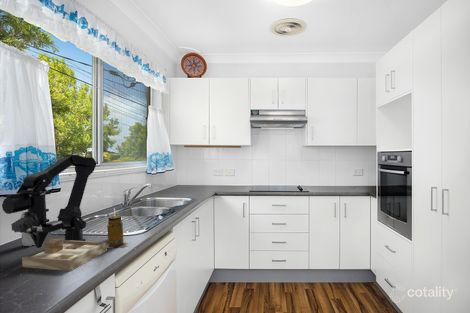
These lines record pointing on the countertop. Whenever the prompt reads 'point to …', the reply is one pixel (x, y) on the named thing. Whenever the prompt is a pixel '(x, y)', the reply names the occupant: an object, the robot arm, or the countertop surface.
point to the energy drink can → (26, 236)
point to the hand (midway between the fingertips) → (39, 247)
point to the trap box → (66, 256)
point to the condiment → (115, 232)
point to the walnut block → (53, 246)
